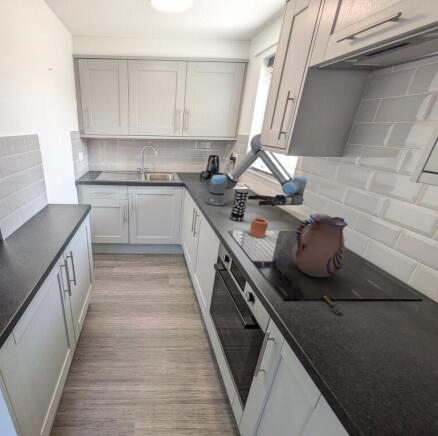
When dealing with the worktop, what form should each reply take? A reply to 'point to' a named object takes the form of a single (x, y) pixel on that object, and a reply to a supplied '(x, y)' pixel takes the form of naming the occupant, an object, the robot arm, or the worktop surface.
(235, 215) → the spotted tube
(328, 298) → the can opener
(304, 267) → the ceramic pitcher
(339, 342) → the worktop surface
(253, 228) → the cup
